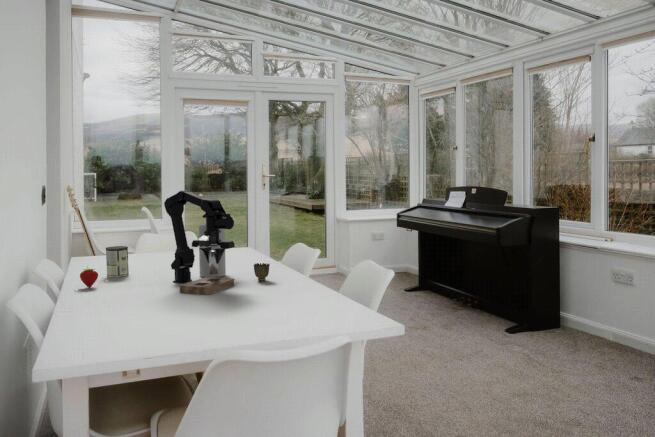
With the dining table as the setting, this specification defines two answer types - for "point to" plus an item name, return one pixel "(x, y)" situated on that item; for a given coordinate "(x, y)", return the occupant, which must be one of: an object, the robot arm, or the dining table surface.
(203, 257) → the cylinder vase
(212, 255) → the lock pin
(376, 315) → the dining table surface
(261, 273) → the cup
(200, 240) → the robot arm
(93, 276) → the strawberry
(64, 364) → the dining table surface
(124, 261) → the coffee can
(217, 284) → the mount block
